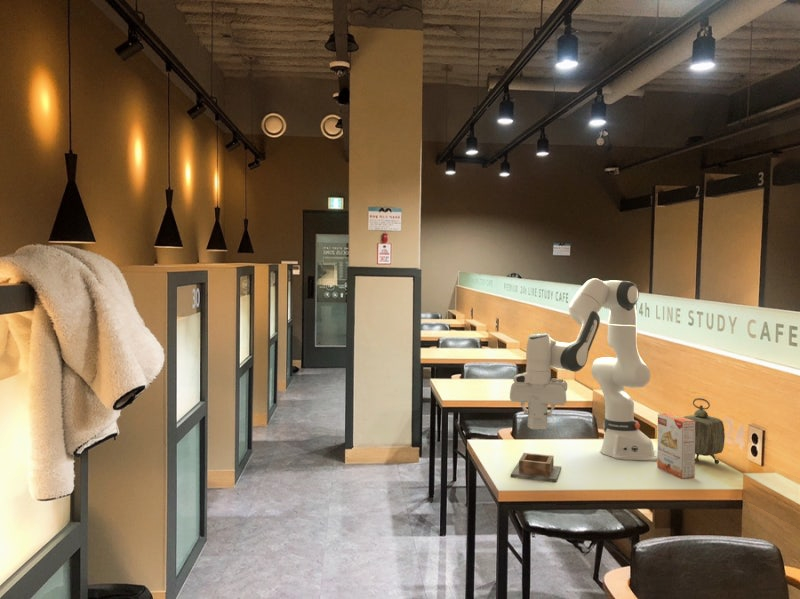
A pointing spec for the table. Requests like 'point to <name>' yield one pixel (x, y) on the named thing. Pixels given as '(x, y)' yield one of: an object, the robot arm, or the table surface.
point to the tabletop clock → (707, 433)
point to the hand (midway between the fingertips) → (537, 415)
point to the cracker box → (676, 445)
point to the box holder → (536, 467)
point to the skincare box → (537, 414)
